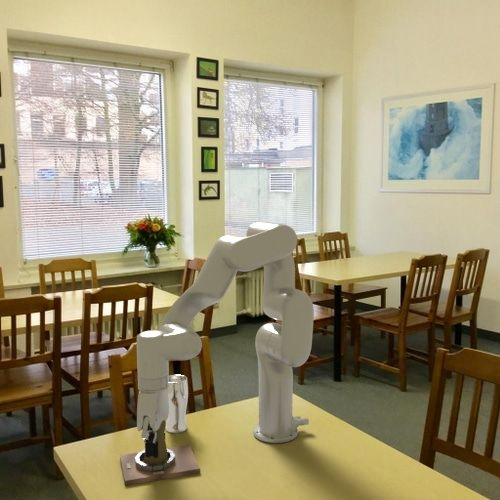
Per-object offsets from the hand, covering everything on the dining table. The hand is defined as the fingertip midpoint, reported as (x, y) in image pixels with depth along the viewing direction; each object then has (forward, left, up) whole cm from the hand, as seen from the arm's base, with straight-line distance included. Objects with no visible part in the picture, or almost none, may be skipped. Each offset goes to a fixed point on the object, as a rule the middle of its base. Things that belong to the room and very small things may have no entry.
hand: (155, 451), depth 138 cm
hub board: (-1, 0, -4) cm, 4 cm away
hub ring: (0, 0, -3) cm, 3 cm away
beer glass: (-9, -20, -4) cm, 22 cm away
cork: (0, 0, -2) cm, 2 cm away
